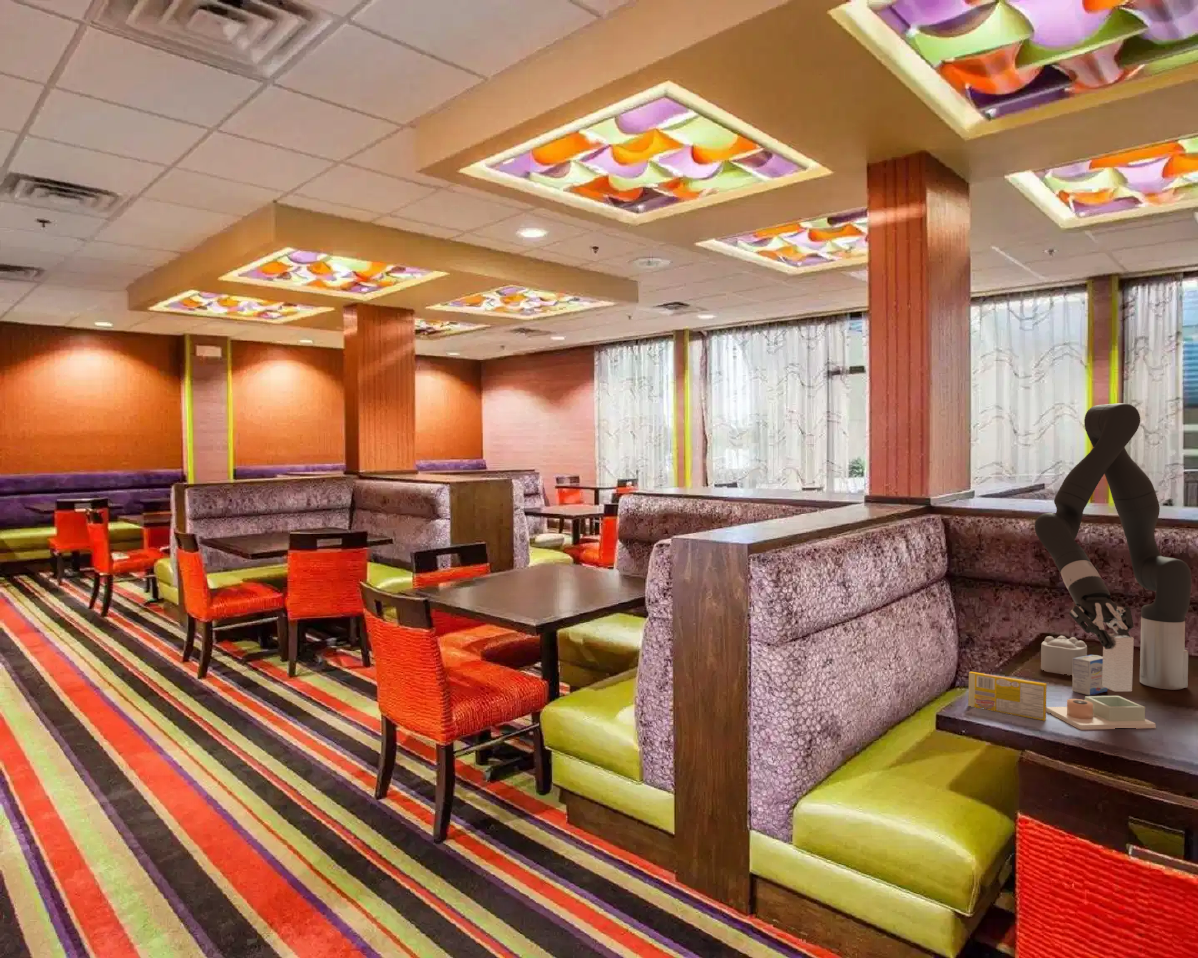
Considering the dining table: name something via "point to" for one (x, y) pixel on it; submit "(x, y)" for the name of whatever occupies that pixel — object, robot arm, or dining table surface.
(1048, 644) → the lumpy-topped squat cylinder
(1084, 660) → the medicine box
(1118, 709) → the organizer
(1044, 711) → the candy box
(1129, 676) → the plain beige rectangular box
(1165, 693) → the dining table surface
